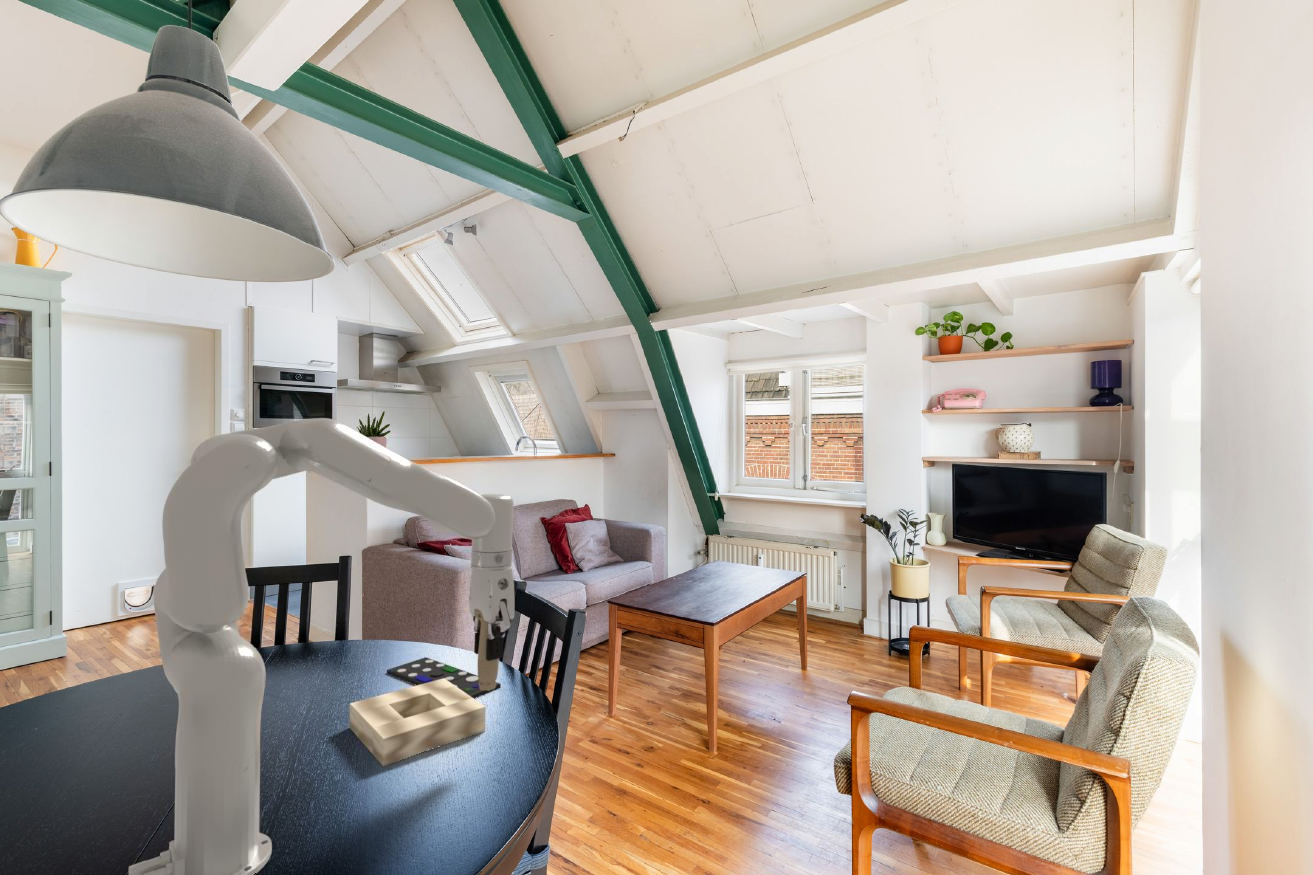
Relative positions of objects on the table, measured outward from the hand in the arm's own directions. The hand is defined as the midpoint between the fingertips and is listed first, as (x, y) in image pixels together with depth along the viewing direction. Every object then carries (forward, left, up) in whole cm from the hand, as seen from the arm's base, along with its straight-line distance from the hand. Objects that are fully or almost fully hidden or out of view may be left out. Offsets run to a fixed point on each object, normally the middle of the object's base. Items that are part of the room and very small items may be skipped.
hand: (488, 654), depth 115 cm
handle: (0, 0, -7) cm, 7 cm away
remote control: (+8, +40, -19) cm, 45 cm away
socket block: (-6, +18, -19) cm, 27 cm away
